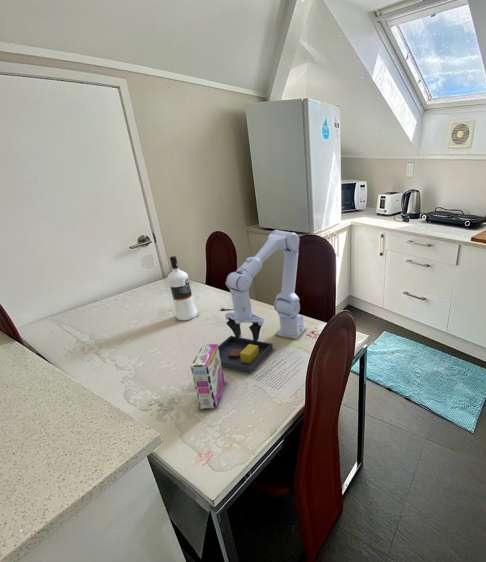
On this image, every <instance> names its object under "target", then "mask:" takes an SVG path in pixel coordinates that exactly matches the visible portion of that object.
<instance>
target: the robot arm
mask: <svg viewBox="0 0 486 562" xmlns="http://www.w3.org/2000/svg"><path fill="white" fill-rule="evenodd" d="M299 248H300V237H299V236H298V234H297V233H296V232H290V231H285V230H279V229H274V230H273V231H271V232H270V234H268V237H267V241H266V242H265V243H264V245H263V246H262V247H261V248H260V249H259V251H258V252H257V253H256V254H255V255H254V256H249V257H247V258H246V259H245V261H244V262H243V263H242V264H241V265H240V267H238V268H237V269H236V271H233V272H230V273H229V274H228V275H227V277H226V281H225V286H226V287H227V288H228V289H229V292H230V294H231V300H232V306H233V312H229V311H228V312H227V313H225V314H224V316H225V320H227V322H226V325H227V326H228V327H229V328H230V330H231V331H232V333H233V334H234V335H233V336H235V337H236V338H238V337H241V336H242V331H241V324H243V323H244V324H246V323H248V324H249V323H251V325H250V326H249V327H248V329H249V330H250V333H251V335H252V340H254V341H255V342H256V341H259V339H260V334H261V333H260V332H261V329H262V326H263V324H264V323H265V322H264V318H263V317H260V316H258V315H257V314H254V313H253V312H252V305H251V298H250V291H249V290H250V288H251V286H252V282H253V280H254V278H255V277H256V275H258V273H259V272H260V271H261V270H262V269H263V263H264V262H265V261H266V260H267V259H268V258H270V256H272V255H273V254H274V253H275V252H276V251H281V252H282V254H283V255H284V256H283V268H282V278H281V291H280V292H279V293H277V294H276V297H275V301H274V303H273V308H274V310H275V312H277V315H278V318H279V319H278V320H279V327H280V330H279V331H278V333H276V335H277V336H281V337H287V338H292V339H298V338H299V337H300V336H301V335H302V334H303V332H304V331H305V326H304V317H303V315H301V314H299V313H300V310H301V304H300V298H299V296H298V295H297V294H296V293H295V291H296V281H297V271H298V260H299Z"/></svg>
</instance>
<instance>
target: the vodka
mask: <svg viewBox="0 0 486 562" xmlns="http://www.w3.org/2000/svg"><path fill="white" fill-rule="evenodd" d="M169 261H170V266H171V268H172V269H171V270H172V271H171V272H170V273H169V274H168V275H167V276H166V277H167V282H168V286H169V288H170V292H171V297H172V301H173V305H174V310H175V318H176V319H177V320H179V321H182V322H183V321H189V320H192V319H194V318H195V317H197V315H198V309H197V307H196V304H195V301H194V298H193V297H194V295H193V293H192V289H191V285H190V280H189V274H188V273H187V272H186V271H184V270H182V269H181V270H180V266H179V263H178V260H177V256H176V255H175V256H174V255H172V256H170V257H169Z"/></svg>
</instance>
